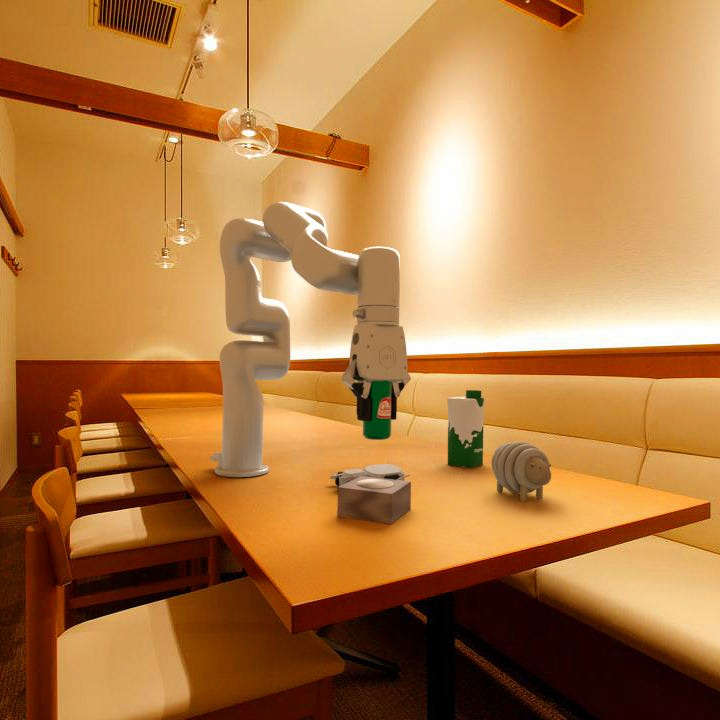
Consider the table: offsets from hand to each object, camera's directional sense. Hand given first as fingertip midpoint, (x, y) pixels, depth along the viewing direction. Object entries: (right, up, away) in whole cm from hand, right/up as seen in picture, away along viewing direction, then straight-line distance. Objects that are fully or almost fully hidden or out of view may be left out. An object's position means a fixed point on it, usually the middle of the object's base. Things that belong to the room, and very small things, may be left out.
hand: (376, 418), depth 90 cm
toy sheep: (+30, -18, +14) cm, 37 cm away
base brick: (0, -17, 0) cm, 17 cm away
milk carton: (+25, -18, +45) cm, 55 cm away
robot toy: (-1, -17, +17) cm, 25 cm away
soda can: (0, -4, 0) cm, 4 cm away
